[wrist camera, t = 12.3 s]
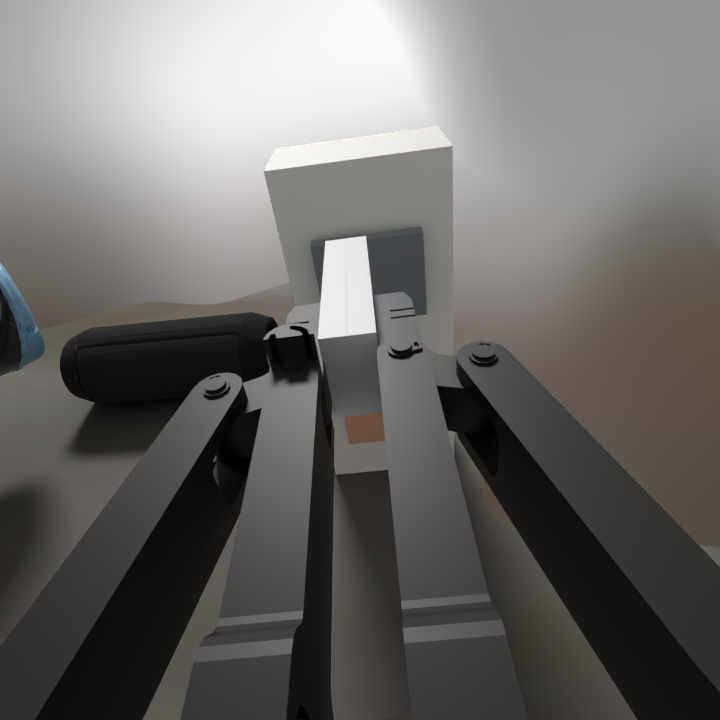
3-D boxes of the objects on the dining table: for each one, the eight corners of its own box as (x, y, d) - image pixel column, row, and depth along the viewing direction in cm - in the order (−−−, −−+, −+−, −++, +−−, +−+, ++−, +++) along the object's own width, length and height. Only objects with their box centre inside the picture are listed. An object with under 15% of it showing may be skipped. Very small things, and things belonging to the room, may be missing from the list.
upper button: (326, 326, 36) (310, 246, 32) (329, 282, 41) (316, 210, 37) (426, 314, 35) (423, 232, 31) (416, 271, 41) (412, 197, 37)
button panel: (335, 474, 48) (263, 171, 30) (337, 432, 53) (275, 148, 35) (454, 463, 47) (452, 145, 30) (444, 421, 52) (438, 126, 34)
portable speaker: (289, 358, 66) (272, 295, 60) (277, 406, 58) (257, 340, 52) (115, 373, 68) (82, 314, 62) (82, 422, 60) (40, 360, 54)
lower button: (349, 444, 43) (339, 391, 40) (349, 394, 49) (340, 343, 45) (432, 436, 43) (430, 382, 39) (422, 386, 49) (419, 334, 45)
